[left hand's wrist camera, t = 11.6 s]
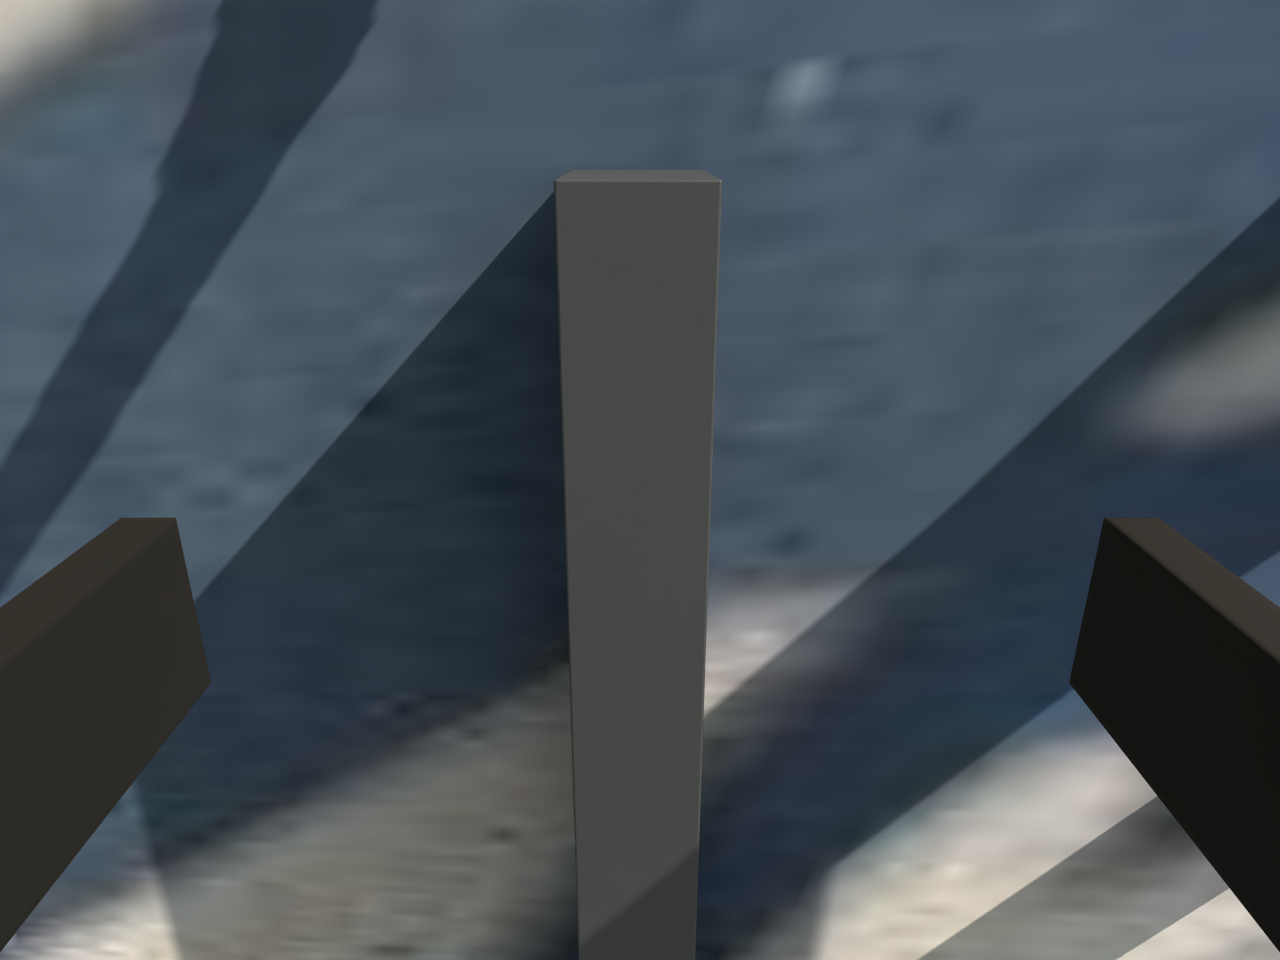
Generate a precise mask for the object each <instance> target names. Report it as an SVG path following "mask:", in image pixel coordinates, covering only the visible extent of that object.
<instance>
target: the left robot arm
mask: <svg viewBox="0 0 1280 960" xmlns="http://www.w3.org/2000/svg"><path fill="white" fill-rule="evenodd" d="M210 683H211V682H210V677H209V672H208V667H207V663H206V658H205V653H204V649H203V644H202V639H201V635H200V630H199V625H198V620H197V616H196V611H195V606H194V602H193V597H192V592H191V587H190V583H189V578H188V573H187V569H186V564H185V559H184V555H183V550H182V545H181V540H180V536H179V531H178V526H177V522H176V518H121V519H119V520H118V521H117V522H115V523H114V524H113V525H111V526H110V527H108V528H107V529H106V530H104V531H103V532H102V533H100V534H99V535H98V536H96V537H95V538H94V539H92V540H91V541H90V542H88V543H87V544H86V545H84V546H83V547H82V548H80V549H79V550H77V551H76V552H75V553H73V554H72V555H71V556H69V557H68V558H67V559H65V560H64V561H63V562H61V563H60V564H59V565H57V566H56V567H55V568H53V569H52V570H51V571H49V572H48V573H46V574H45V575H44V576H42V577H41V578H40V579H38V580H37V581H36V582H34V583H33V584H32V585H30V586H29V587H28V588H26V589H25V590H24V591H22V592H21V593H19V594H18V595H17V596H15V597H14V598H13V599H11V600H10V601H9V602H7V603H6V604H5V605H3V606H2V607H1V608H0V952H1V951H2V949H3V948H4V947H5V945H6V944H7V943H8V942H9V940H10V939H11V938H12V936H13V935H14V934H15V933H16V931H17V930H18V929H19V927H20V926H21V925H22V924H23V922H24V921H25V920H26V919H27V917H28V916H29V915H30V913H31V912H32V911H33V910H34V908H35V907H36V906H37V904H38V903H39V902H40V901H41V899H42V898H43V897H44V895H45V894H46V893H47V892H48V890H49V889H50V888H51V887H52V885H53V884H54V883H55V881H56V880H57V879H58V878H59V876H60V875H61V874H62V872H63V871H64V870H65V869H66V867H67V866H68V865H69V863H70V862H71V861H72V860H73V858H74V857H75V856H76V855H77V853H78V852H79V851H80V849H81V848H82V847H83V846H84V844H85V843H86V842H87V840H88V839H89V838H90V837H91V835H92V834H93V833H94V831H95V830H96V829H97V828H98V826H99V825H100V824H101V823H102V821H103V820H104V819H105V817H106V816H107V815H108V814H109V812H110V811H111V810H112V808H113V807H114V806H115V805H116V803H117V802H118V801H119V799H120V798H121V797H122V796H123V794H124V793H125V792H126V791H127V789H128V788H129V787H130V785H131V784H132V783H133V782H134V780H135V779H136V778H137V776H138V775H139V774H140V773H141V771H142V770H143V769H144V767H145V766H146V765H147V764H148V762H149V761H150V760H151V759H152V757H153V756H154V755H155V753H156V752H157V751H158V750H159V748H160V747H161V746H162V744H163V743H164V742H165V741H166V739H167V738H168V737H169V735H170V734H171V733H172V732H173V730H174V729H175V728H176V727H177V725H178V724H179V723H180V721H181V720H182V719H183V718H184V716H185V715H186V714H187V712H188V711H189V710H190V709H191V707H192V706H193V705H194V704H195V702H196V701H197V700H198V698H199V697H200V696H201V695H202V693H203V692H204V691H205V689H206V688H207V687H208V686H209V684H210ZM1069 683H1070V684H1071V686H1072V687H1073V688H1074V689H1075V691H1076V692H1077V693H1078V695H1079V696H1080V697H1081V698H1082V700H1083V701H1084V702H1085V704H1086V705H1087V706H1088V707H1089V709H1090V710H1091V711H1092V712H1093V714H1094V715H1095V716H1096V718H1097V719H1098V720H1099V721H1100V723H1101V724H1102V725H1103V727H1104V728H1105V729H1106V730H1107V732H1108V733H1109V734H1110V735H1111V737H1112V738H1113V739H1114V741H1115V742H1116V743H1117V744H1118V746H1119V747H1120V748H1121V750H1122V751H1123V752H1124V753H1125V755H1126V756H1127V757H1128V759H1129V760H1130V761H1131V762H1132V764H1133V765H1134V766H1135V767H1136V769H1137V770H1138V771H1139V773H1140V774H1141V775H1142V776H1143V778H1144V779H1145V780H1146V782H1147V783H1148V784H1149V785H1150V787H1151V788H1152V789H1153V791H1154V792H1155V793H1156V794H1157V796H1158V797H1159V798H1160V799H1161V801H1162V802H1163V803H1164V805H1165V806H1166V807H1167V808H1168V810H1169V811H1170V812H1171V814H1172V815H1173V816H1174V817H1175V819H1176V820H1177V821H1178V823H1179V824H1180V825H1181V826H1182V828H1183V829H1184V830H1185V831H1186V833H1187V834H1188V835H1189V837H1190V838H1191V839H1192V840H1193V842H1194V843H1195V844H1196V846H1197V847H1198V848H1199V849H1200V851H1201V852H1202V853H1203V855H1204V856H1205V857H1206V858H1207V860H1208V861H1209V862H1210V863H1211V865H1212V866H1213V867H1214V869H1215V870H1216V871H1217V872H1218V874H1219V875H1220V876H1221V878H1222V879H1223V880H1224V881H1225V883H1226V884H1227V885H1228V887H1229V888H1230V889H1231V890H1232V892H1233V893H1234V894H1235V895H1236V897H1237V898H1238V899H1239V901H1240V902H1241V903H1242V904H1243V906H1244V907H1245V908H1246V910H1247V911H1248V912H1249V913H1250V915H1251V916H1252V917H1253V919H1254V920H1255V921H1256V922H1257V924H1258V925H1259V926H1260V927H1261V929H1262V930H1263V931H1264V933H1265V934H1266V935H1267V936H1268V938H1269V939H1270V940H1271V942H1272V943H1273V944H1274V945H1275V947H1276V948H1277V949H1278V951H1279V952H1280V608H1279V607H1278V606H1277V605H1275V604H1274V603H1273V602H1271V601H1270V600H1269V599H1267V598H1266V597H1265V596H1263V595H1262V594H1261V593H1259V592H1258V591H1256V590H1255V589H1254V588H1252V587H1251V586H1250V585H1248V584H1247V583H1246V582H1244V581H1243V580H1242V579H1240V578H1239V577H1238V576H1236V575H1235V574H1234V573H1232V572H1231V571H1229V570H1228V569H1227V568H1225V567H1224V566H1223V565H1221V564H1220V563H1219V562H1217V561H1216V560H1215V559H1213V558H1212V557H1211V556H1209V555H1208V554H1207V553H1205V552H1204V551H1203V550H1201V549H1200V548H1198V547H1197V546H1196V545H1194V544H1193V543H1192V542H1190V541H1189V540H1188V539H1186V538H1185V537H1184V536H1182V535H1181V534H1180V533H1178V532H1177V531H1176V530H1174V529H1173V528H1172V527H1170V526H1169V525H1167V524H1166V523H1165V522H1163V521H1162V520H1161V519H1159V518H1104V522H1103V526H1102V531H1101V536H1100V540H1099V545H1098V550H1097V555H1096V559H1095V564H1094V569H1093V573H1092V578H1091V583H1090V587H1089V592H1088V597H1087V602H1086V606H1085V611H1084V616H1083V620H1082V625H1081V630H1080V635H1079V639H1078V644H1077V649H1076V653H1075V658H1074V663H1073V667H1072V672H1071V677H1070V682H1069Z"/></svg>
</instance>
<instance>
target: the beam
mask: <svg viewBox="0 0 1280 960" xmlns="http://www.w3.org/2000/svg"><path fill="white" fill-rule="evenodd" d="M721 196H722V181H721V180H720V179H718V178H716V177H714V176H713V175H711V174H709V173H707V172H706V171H704V170H575V169H574V170H572V171H570V172H568V173H566V174H565V175H563V176H561V177H559V178H557V179H556V180H554V203H555V235H556V266H557V297H558V328H559V359H560V390H561V422H562V453H563V484H564V515H565V546H566V578H567V609H568V640H569V671H570V702H571V733H572V765H573V796H574V827H575V858H576V889H577V920H578V952H579V960H695V946H696V917H697V888H698V859H699V831H700V802H701V773H702V744H703V715H704V686H705V657H706V629H707V600H708V571H709V542H710V513H711V484H712V455H713V427H714V398H715V369H716V340H717V311H718V282H719V254H720V225H721Z"/></svg>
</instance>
